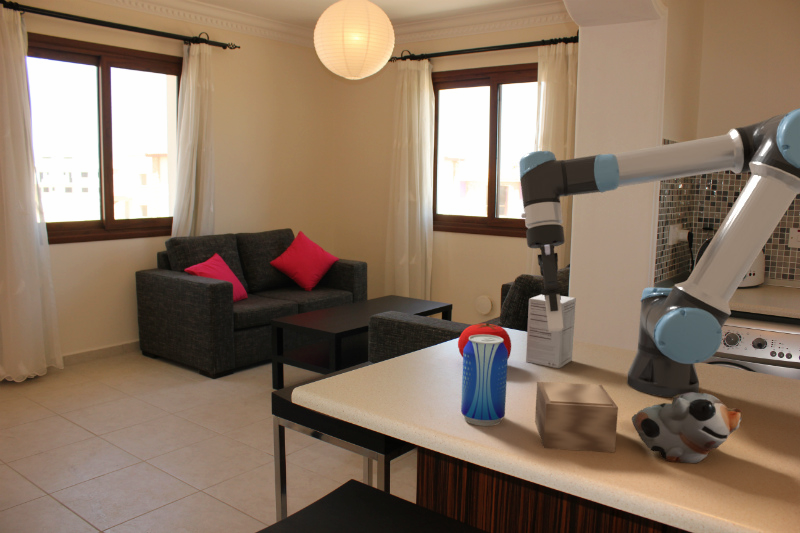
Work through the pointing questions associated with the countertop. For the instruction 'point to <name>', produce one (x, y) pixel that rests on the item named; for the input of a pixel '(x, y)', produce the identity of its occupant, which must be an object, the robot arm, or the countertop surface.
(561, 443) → the block
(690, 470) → the countertop surface
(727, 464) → the countertop surface
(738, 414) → the lucky cat figurine
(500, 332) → the tomato
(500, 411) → the beer can
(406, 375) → the countertop surface
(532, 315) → the supplement box
